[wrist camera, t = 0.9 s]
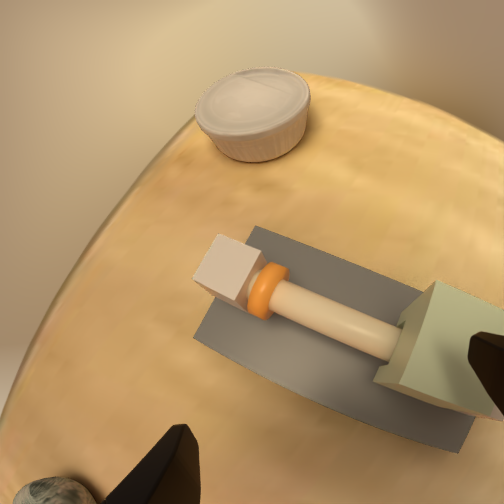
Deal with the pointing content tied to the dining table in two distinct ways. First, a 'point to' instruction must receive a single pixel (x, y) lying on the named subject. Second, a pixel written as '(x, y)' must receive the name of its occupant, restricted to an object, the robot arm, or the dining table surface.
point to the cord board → (326, 353)
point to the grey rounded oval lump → (54, 492)
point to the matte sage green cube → (441, 349)
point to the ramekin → (255, 113)
